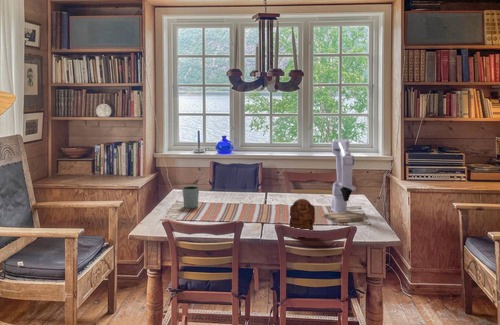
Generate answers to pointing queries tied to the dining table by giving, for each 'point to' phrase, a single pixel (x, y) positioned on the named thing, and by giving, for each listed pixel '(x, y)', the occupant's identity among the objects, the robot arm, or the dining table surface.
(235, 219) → the dining table surface
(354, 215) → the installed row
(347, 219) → the plank
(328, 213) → the plank
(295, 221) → the wooden figurine
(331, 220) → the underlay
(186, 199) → the green plant pot
